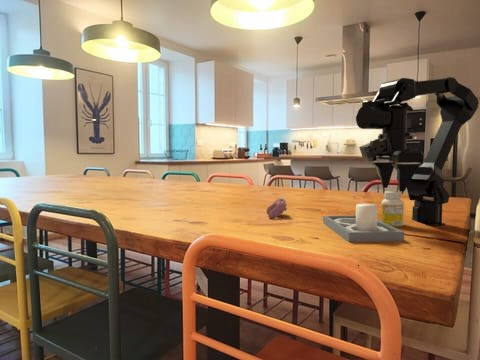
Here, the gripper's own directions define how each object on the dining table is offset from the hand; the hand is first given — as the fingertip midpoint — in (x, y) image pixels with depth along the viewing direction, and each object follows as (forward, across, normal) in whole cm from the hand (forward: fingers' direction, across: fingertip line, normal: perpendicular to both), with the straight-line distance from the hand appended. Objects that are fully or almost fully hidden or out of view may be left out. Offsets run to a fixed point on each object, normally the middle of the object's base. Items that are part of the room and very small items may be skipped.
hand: (393, 189), depth 90 cm
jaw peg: (+9, +12, -12) cm, 19 cm away
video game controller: (+10, -20, -28) cm, 36 cm away
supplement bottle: (+10, 0, 0) cm, 11 cm away
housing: (+10, +7, -12) cm, 17 cm away
